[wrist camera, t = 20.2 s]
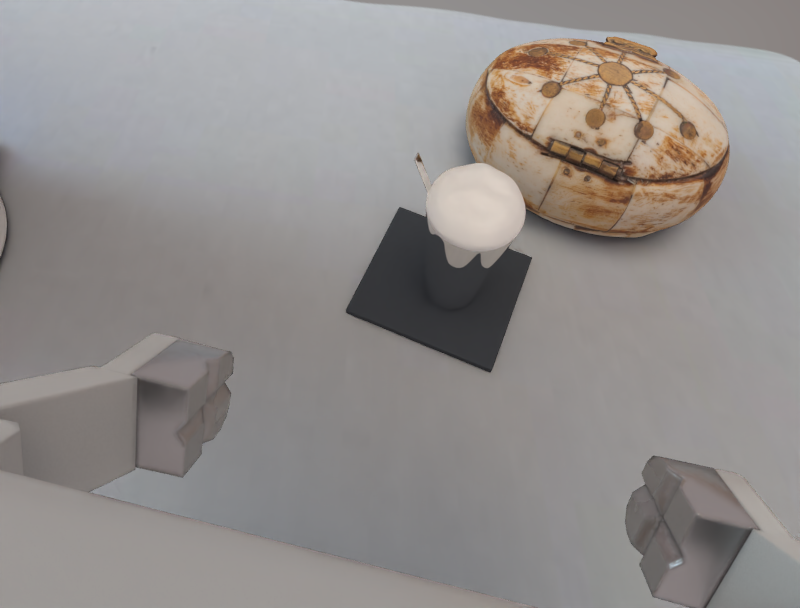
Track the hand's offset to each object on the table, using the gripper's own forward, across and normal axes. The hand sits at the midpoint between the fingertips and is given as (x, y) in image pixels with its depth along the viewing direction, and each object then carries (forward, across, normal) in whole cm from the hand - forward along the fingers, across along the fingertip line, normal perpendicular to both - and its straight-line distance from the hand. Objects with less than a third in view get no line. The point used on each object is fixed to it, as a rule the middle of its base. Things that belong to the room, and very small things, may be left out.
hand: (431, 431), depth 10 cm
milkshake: (+21, 0, +4) cm, 21 cm away
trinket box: (+29, -7, -4) cm, 30 cm away
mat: (+21, 0, +4) cm, 21 cm away
